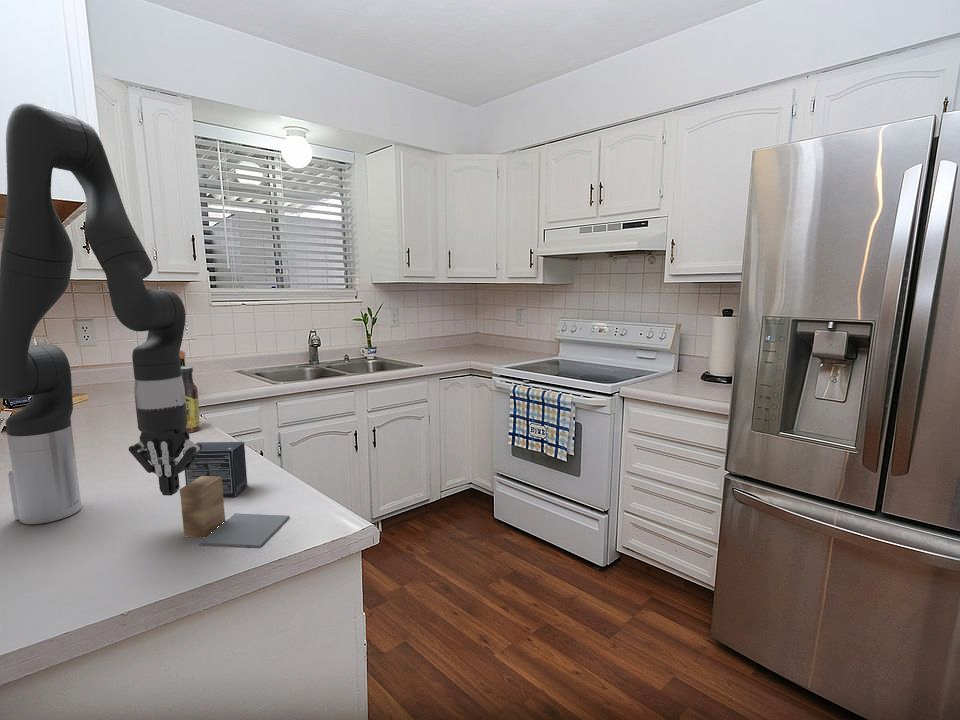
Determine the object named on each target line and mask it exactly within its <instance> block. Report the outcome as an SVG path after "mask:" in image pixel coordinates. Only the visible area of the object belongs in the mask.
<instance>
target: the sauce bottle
mask: <svg viewBox="0 0 960 720" xmlns="http://www.w3.org/2000/svg"><path fill="white" fill-rule="evenodd" d="M193 372H194V368H193V366H188V365H187V366H186V365H185V367H181V374H182V375H181V376H182V380H183V384H184V389H185V400H186V410H187V421H188V422H187V426H186V430H187V432H188V434H189V433H190V434H191V433H193V432H198V431H199V430H200V408H199V394H198V393H199V392H198V391H199V390H198V387H197V385H196V384H195V383H194V379H193Z"/></svg>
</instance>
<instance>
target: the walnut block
mask: <svg viewBox="0 0 960 720" xmlns="http://www.w3.org/2000/svg"><path fill="white" fill-rule="evenodd" d="M179 496H180V505H181V516H182V527H183V535H184V536H188V537H187V538H204V537H207V536H208V535H209V534H210V533H211V532H213V531H214V530H215V529H216V528H217V527H218V526H220V525H221V524H222V523H223V522H225V521H226V516H225V514H226V513H225V501H224V497H223V487H222V477H214V476H201V477H199V478H197V479H196V480H194V481H192V482H191V483H189V484H188V485H186V484H185V485H184V486H182V487H181V488H179Z"/></svg>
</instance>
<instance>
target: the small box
mask: <svg viewBox="0 0 960 720" xmlns="http://www.w3.org/2000/svg"><path fill="white" fill-rule="evenodd" d="M195 444H196V445H197V444H201V445H202V449H201V451H200V452H199V454H198V455H197V456H196V458H195V459H194V461H193V462H192V464H191V465H190V466H189V468H188V469H186V470H184V477H185V486H186V485H188V484H189V483H191V482H192V481H194V480H196V479H197V478H199V477H201V476H214V477H222V487H223V498H231V497H232V498H233V497H237V496H238V495H239V494H240V493H241V492H242V491H243V490H245V489H246V488H247V487H248V477H247V476H248V474H247V463H246V462H247V461H246V447H245V441H207V442H199V441H198V442H196V443H195ZM183 451H184V449H183V450H182V456H183V455H184V453H183Z"/></svg>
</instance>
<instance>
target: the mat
mask: <svg viewBox="0 0 960 720" xmlns="http://www.w3.org/2000/svg"><path fill="white" fill-rule="evenodd" d="M289 519H290V515H286V514H284V515H281V514H261V513H260V514H259V513H258V514H257V513H239V512H238V513H237V512H236V513H234V514H233V515H231V516H229V518H228V519H225V522H224V523H223V524H221V525H220V526H219V527H218V528H216V529H215V530H214V531H213V532H212V533H210V534H209V535H208V536H207V537H205V538H204V537H203V538H202V540H201V541H199V542H198V543H199V546H218V547H221V546H222V547H238V548H239V547H240V548H242V547H244V548H260V549H261V547H262V546H264V544H265V543H266V542H267V541H268V540H269V539H271V537H272V536H273V535H274V534H275V533H276V532H277V531H278V530H279V529H280V528H281V527H282V526H283V525H284V524H285V523H286V522H287V521H289Z"/></svg>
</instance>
